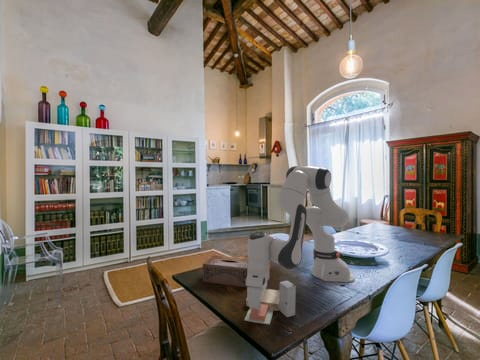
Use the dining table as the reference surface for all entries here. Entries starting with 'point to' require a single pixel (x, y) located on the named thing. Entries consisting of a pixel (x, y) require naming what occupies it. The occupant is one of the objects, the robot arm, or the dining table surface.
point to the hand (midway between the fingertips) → (258, 307)
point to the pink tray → (259, 313)
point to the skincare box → (287, 298)
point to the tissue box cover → (225, 270)
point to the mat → (267, 321)
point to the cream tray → (270, 299)
